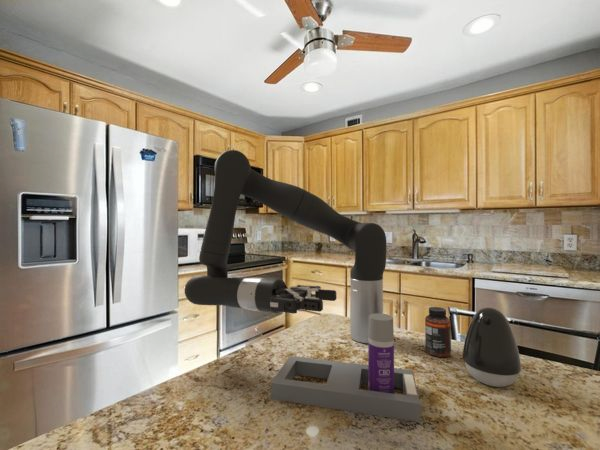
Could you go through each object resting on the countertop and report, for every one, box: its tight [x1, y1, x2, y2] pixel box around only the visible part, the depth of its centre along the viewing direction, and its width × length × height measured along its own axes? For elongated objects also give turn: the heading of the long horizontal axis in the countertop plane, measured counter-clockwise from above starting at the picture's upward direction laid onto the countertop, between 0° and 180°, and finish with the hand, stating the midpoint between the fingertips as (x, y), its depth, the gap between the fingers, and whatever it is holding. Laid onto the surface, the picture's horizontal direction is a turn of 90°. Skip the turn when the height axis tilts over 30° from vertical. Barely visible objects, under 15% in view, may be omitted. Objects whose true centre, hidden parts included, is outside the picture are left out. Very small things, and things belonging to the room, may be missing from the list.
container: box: [367, 313, 395, 394], centre depth 57 cm, size 5×5×15 cm
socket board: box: [270, 355, 421, 423], centre depth 58 cm, size 12×26×3 cm, turn 75°
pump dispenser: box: [462, 306, 522, 388], centre depth 62 cm, size 10×10×15 cm
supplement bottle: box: [424, 306, 452, 358], centre depth 76 cm, size 6×6×11 cm
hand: (329, 300), depth 61 cm, fingers open, 8 cm apart
